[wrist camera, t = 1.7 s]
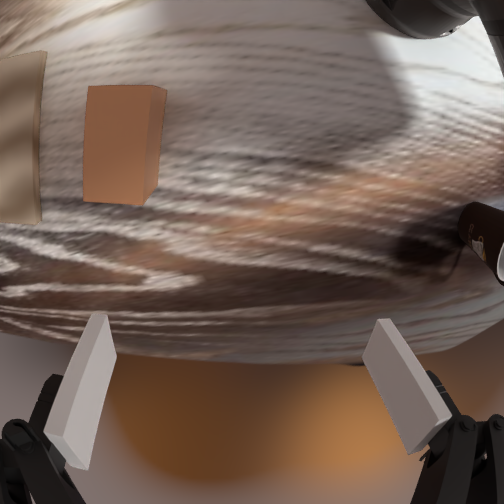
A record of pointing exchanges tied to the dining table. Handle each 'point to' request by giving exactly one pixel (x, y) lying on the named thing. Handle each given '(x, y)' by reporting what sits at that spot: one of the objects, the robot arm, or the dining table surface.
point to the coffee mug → (484, 235)
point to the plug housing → (122, 143)
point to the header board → (20, 137)
